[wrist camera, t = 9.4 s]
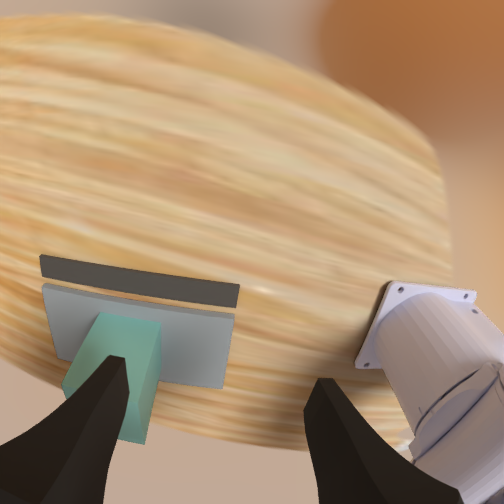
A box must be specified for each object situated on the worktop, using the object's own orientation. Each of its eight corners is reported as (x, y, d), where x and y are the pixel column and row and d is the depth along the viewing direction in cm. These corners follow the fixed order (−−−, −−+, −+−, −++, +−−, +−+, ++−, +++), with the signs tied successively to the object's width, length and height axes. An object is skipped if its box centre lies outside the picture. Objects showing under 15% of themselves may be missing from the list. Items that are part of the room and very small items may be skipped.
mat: (234, 314, 21) (234, 319, 20) (222, 383, 23) (222, 389, 23) (45, 282, 19) (41, 286, 19) (60, 353, 22) (57, 358, 21)
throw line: (239, 284, 20) (239, 286, 20) (235, 305, 20) (235, 307, 20) (41, 254, 18) (39, 256, 18) (44, 274, 19) (42, 276, 19)
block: (160, 322, 20) (137, 403, 14) (161, 368, 22) (144, 444, 15) (100, 312, 20) (61, 384, 13) (106, 357, 21) (78, 428, 15)
